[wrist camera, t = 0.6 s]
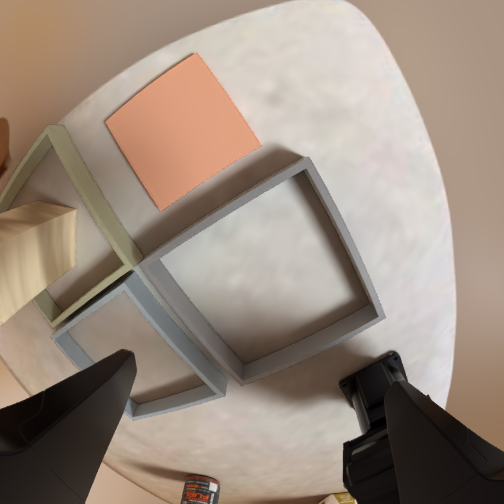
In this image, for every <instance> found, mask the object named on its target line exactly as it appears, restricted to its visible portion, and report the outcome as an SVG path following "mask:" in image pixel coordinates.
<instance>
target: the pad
mask: <svg viewBox="0 0 504 504" xmlns="http://www.w3.org/2000/svg"><path fill="white" fill-rule="evenodd" d="M105 123H106V125H107V126H108V128H109V130H110V131H111V133H112V135H113V136H114V138H115V140H116V141H117V143H118V145H119V146H120V148H121V150H122V151H123V153H124V155H125V156H126V158H127V160H128V161H129V163H130V164H131V166H132V168H133V169H134V171H135V172H136V174H137V176H138V177H139V179H140V180H141V182H142V183H143V185H144V187H145V188H146V190H147V191H148V193H149V194H150V196H151V197H152V199H153V200H154V202H155V203H156V205H157V207H158V208H159V210H160V211H162V210H164V209H165V208H167V207H168V206H169V205H171V204H172V203H174V202H175V201H176V200H178V199H179V198H181V197H182V196H184V195H185V194H187V193H188V192H189V191H191V190H192V189H194V188H195V187H197V186H198V185H200V184H201V183H203V182H204V181H206V180H207V179H209V178H210V177H212V176H213V175H215V174H217V173H218V172H220V171H221V170H223V169H224V168H226V167H228V166H229V165H231V164H232V163H234V162H236V161H237V160H239V159H240V158H242V157H244V156H245V155H247V154H249V153H250V152H252V151H254V150H255V149H257V148H259V147H260V146H262V145H261V144H260V142H259V140H258V139H257V137H256V136H255V134H254V133H253V131H252V130H251V128H250V127H249V125H248V124H247V122H246V121H245V119H244V118H243V116H242V115H241V113H240V112H239V110H238V109H237V107H236V106H235V104H234V103H233V101H232V100H231V98H230V97H229V95H228V94H227V93H226V91H225V90H224V88H223V87H222V86H221V84H220V83H219V81H218V80H217V78H216V77H215V76H214V74H213V73H212V72H211V70H210V69H209V67H208V66H207V65H206V63H205V62H204V61H203V59H202V58H201V57H200V55H199V54H198V53H195V54H193V55H192V56H190V57H189V58H187V59H185V60H184V61H182V62H181V63H179V64H178V65H176V66H175V67H173V68H172V69H170V70H169V71H167V72H166V73H165V74H163V75H162V76H160V77H159V78H158V79H156V80H155V81H154V82H152V83H151V84H150V85H148V86H147V87H146V88H144V89H143V90H142V91H141V92H139V93H138V94H137V95H136V96H134V97H133V98H132V99H131V100H129V101H128V102H127V103H126V104H125V105H123V106H122V107H121V108H120V109H119V110H118V111H117V112H115V113H114V114H113V115H112V116H111V117H110V118H109V119H108V120H107V121H106V122H105Z"/></svg>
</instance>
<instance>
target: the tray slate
mask: <svg viewBox="0 0 504 504" xmlns="http://www.w3.org/2000/svg"><path fill="white" fill-rule="evenodd" d="M123 291H124V292H125V293H126V294H127V296H128V297H129V298H130V299H131V301H132V302H133V303H134V304H135V306H136V307H137V308H138V309H139V311H140V312H141V313H142V314H143V316H144V317H145V318H146V319H147V320H148V322H149V323H150V324H151V325H152V326H153V327H154V329H155V330H156V331H157V332H158V333H159V334H160V336H161V337H162V338H163V339H164V340H165V341H166V342H167V343H168V345H169V346H170V347H171V348H172V349H173V350H174V351H175V352H176V353H177V354H178V355H179V357H180V358H181V359H182V360H183V361H184V362H185V363H186V364H187V365H188V366H189V367H190V368H191V369H192V370H193V371H194V372H195V373H196V374H197V375H198V376H199V377H200V378H201V379H202V380H203V381H204V382H205V383H206V384H205V385H202V386H199V387H196V388H193V389H190V390H187V391H184V392H181V393H178V394H175V395H171V396H168V397H165V398H161V399H158V400H154V401H151V402H147V403H144V404H140V405H137V404H136V403H135V402H134V401H133V400H131V399H130V398H128V401H127V404H126V407H125V410H124V413H125V414H126V415H127V416H128V417H129V418H131V419H132V420H138V419H143V418H147V417H152V416H156V415H160V414H165V413H169V412H173V411H177V410H180V409H184V408H188V407H191V406H195V405H198V404H202V403H205V402H208V401H211V400H215V399H218V398H221V397H224V396H225V394H226V387H227V380H226V379H225V378H224V377H223V376H222V375H221V374H220V373H219V371H218V370H217V369H216V368H215V367H214V366H213V365H212V364H211V363H210V362H209V361H208V360H207V359H206V358H205V357H204V355H203V354H202V353H201V352H200V351H199V350H198V349H197V348H196V347H195V345H194V344H193V343H192V342H191V341H190V340H189V339H188V337H187V336H186V335H185V334H184V333H183V332H182V331H181V329H180V328H179V327H178V326H177V325H176V323H175V322H174V321H173V320H172V319H171V317H170V316H169V315H168V314H167V313H166V311H165V310H164V309H163V308H162V306H161V305H160V304H159V303H158V301H157V300H156V299H155V298H154V296H153V295H152V294H151V292H150V291H149V290H148V288H147V287H146V286H145V285H144V283H143V282H142V281H141V279H140V278H139V277H138V275H137V274H136V272H133V273H132V274H131V275H129V276H128V277H126V278H125V279H123V280H122V281H121V282H119V283H118V284H116V285H115V286H114V287H112V288H111V289H109V290H108V291H107V292H105V293H104V294H103V295H101V296H100V297H98V298H97V299H96V300H94V301H93V302H92V303H90V304H89V305H88V306H86V307H85V308H84V309H82V310H81V311H80V312H78V313H77V314H76V315H74V316H73V317H72V318H70V319H69V320H68V321H66V322H65V323H64V324H63V325H61V326H60V327H59V328H58V329H57V330H56V331H55V332H54V333H53V334H52V335H51V337H50V338H51V339H52V340H53V341H54V342H55V344H56V345H57V346H58V347H59V348H60V350H61V351H62V352H63V353H64V354H65V355H66V357H67V358H68V359H69V360H70V361H71V362H72V363H73V364H74V365H75V367H76V368H77V369H78V370H79V371H82V370H84V369H86V368H87V367H89V366H91V365H93V364H95V363H94V362H93V361H92V360H91V359H90V358H89V357H88V356H87V355H86V354H85V352H84V351H83V350H82V349H81V348H80V347H79V346H78V344H77V343H76V342H75V341H74V340H73V339H72V337H71V336H70V335H69V334H68V332H67V330H69V329H70V328H71V327H73V326H74V325H76V324H77V323H78V322H80V321H81V320H83V319H84V318H86V317H87V316H88V315H90V314H91V313H93V312H94V311H96V310H97V309H98V308H100V307H101V306H103V305H104V304H106V303H107V302H109V301H110V300H111V299H113V298H114V297H116V296H117V295H119V294H120V293H122V292H123Z"/></svg>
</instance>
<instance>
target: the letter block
mask: <svg viewBox="0 0 504 504" xmlns="http://www.w3.org/2000/svg"><path fill="white" fill-rule="evenodd" d="M76 210H77V209H73V208H69V207H64V206H60V205H56V204H51V203H47V202H42V201H38V200H37V201H34V202H31V203H28V204H25V205H23V206H20V207H17V208H14V209H11V210H9V211H6V212H3V213H1V214H0V325H2V324H3V323H4V322H6V321H7V320H8V319H9V318H10V317H11V316H12V315H14V314H15V313H16V312H17V311H18V310H19V309H21V308H22V307H23V306H24V305H25V304H27V303H28V302H29V301H30V300H31V299H33V298H34V297H35V296H36V295H38V294H39V293H40V292H41V291H43V290H44V289H45V288H47V287H48V286H49V285H50V284H52V283H53V282H54V281H56V280H57V279H58V278H60V277H61V276H62V275H64V274H65V273H66V272H68V271H69V270H70V269H72V268H73V267H74V266H76Z"/></svg>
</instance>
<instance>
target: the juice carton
mask: <svg viewBox="0 0 504 504" xmlns="http://www.w3.org/2000/svg"><path fill="white" fill-rule="evenodd" d="M319 504H357V502H356V499H354V498H353V497H352V496H351V495H350V494H349V492H346V493H338V494H331V495H329V496H328V497H327V498H325V499H324V500H322V501H321V502H320V503H319Z"/></svg>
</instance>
